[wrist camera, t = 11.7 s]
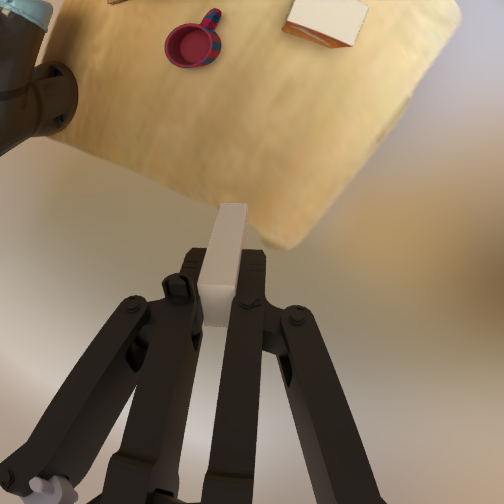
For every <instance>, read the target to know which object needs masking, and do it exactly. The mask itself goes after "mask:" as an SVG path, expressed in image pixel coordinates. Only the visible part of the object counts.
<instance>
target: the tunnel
mask: <svg viewBox="0 0 504 504" xmlns="http://www.w3.org/2000/svg"><path fill="white" fill-rule="evenodd" d="M124 1H127V0H107V4H112V5H113V4H117V3H120V2H124Z"/></svg>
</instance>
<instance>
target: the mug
mask: <svg viewBox="0 0 504 504" xmlns="http://www.w3.org/2000/svg"><path fill="white" fill-rule="evenodd" d="M220 17H221V11H220V10H219V9H216V8H214V9H211V10H210V11H209V12H208V13H207V14H206V16H205V17H204V19H203V20H202V22H201V24H199V25H198V24H190V23H189V24H184V25H181V26H179V27H177V28H175V29H174V30H173V31H172V32H171V33H170V34H169V35H168V37H167V39H166V42H165V53H166V56H167V58H168V59H169V61H170V62H171V63H173V64H174V65H176V66H178V67H182V68H192V67H198V66H204V65H207V64H209V63H211V62H213V61H214V60H215V59H216V58H217V56H218V55H219V53H220V50H221V41H220V38H219V36H218V35H217V34H216V33H215V32H214V31H213V30H214V28H215V27H216V25H217V23H218V21H219V19H220ZM210 21H211V22H210Z"/></svg>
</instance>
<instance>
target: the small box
mask: <svg viewBox="0 0 504 504" xmlns="http://www.w3.org/2000/svg"><path fill="white" fill-rule="evenodd" d="M369 8H370V7H369V6H368V5H367V4H365V3H363V2H361V1H359V0H293V2H292V4H291V7H290V9H289V12H288V14H287V17H286V20H285V22H284V25H283V28H282V31H284V32H288V33H291V34H295V35H298V36H300V37H303V38H306V39H309V40H312V41H314V42H317V43H319V44H322V45H324V46H327V47H329V48H339V47H353V45H354V43H355V41H356V38H357V36H358V34H359V31H360V29H361V27H362V24H363V22H364V20H365V17H366V15H367V13H368V10H369Z"/></svg>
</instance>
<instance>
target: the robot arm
mask: <svg viewBox="0 0 504 504" xmlns="http://www.w3.org/2000/svg"><path fill="white" fill-rule="evenodd" d="M52 13H53V7H52V5H51V4H50V3H49V2H46V1H42V0H0V156H2V155H3V154H5V153H6V152H8V151H9V150H11V149H12V148H14V147H15V146H17V145H18V144H20V143H22V142H24V141H25V140H26V139H28V138H30V137H40V136H49V135H52V134H55V133H56V132H58V131H60V130H62V129H63V128H65V127H66V126H67V125H68V123H69V122H70V121H71V119H72V117H73V115H74V113H75V110H76V107H77V101H78V89H77V83H76V80H75V77H74V75H73V73H72V72H71V71H70V69H69V68H68V67H67V66H65V65H64V64H62V63H60V62H47V63H43V64H40V65H38V66H36V67H34V66H35V62H36V59H37V56H38V53H39V50H40V46H41V44H42V41H43V38H44V35H45V33H47V31H48V28H47V27H48V24H49V21H50V19H51V16H52ZM247 236H248V233H247V203H221V205H220V208H219V211H218V215H217V218H216V221H215V224H214V228H213V231H212V234H211V237H210V241H209V244H208V247H207V248H192V249H191V250H190V251H189V252H188V253H187V254H186V256H185V259H184V262H183V264H182V268H181V270H180V272H179V273H174V274H172V275H169V276H167V277H166V278H165V279H164V280H163V282H162V286H163V290H164V293H165V298H163V299H160V300H156V301H150V302H147V301H146V299H145V298H143V297H141V296H137V295H135V296H130V297H128V298H126V299H124V300H123V301H122V302H121V303H120V305H119V306H118V307H117V309H116V310H115V311H114V312H113V314H112V315H111V316H110V318H109V319H108V320H107V322H106V323H105V324H104V326H103V327H102V329H101V330H100V331H99V333H98V334H97V335H96V337H95V338H94V339H93V341H92V342H91V344H90V345H89V346H88V348H87V349H86V351H85V352H84V354H83V355H82V356H81V358H80V359H79V361H78V362H77V363H76V365H75V366H74V368H73V370H72V371H71V372H70V374H69V375H68V377H67V378H66V380H65V381H64V383H63V384H62V386H61V387H60V389H59V390H58V392H57V393H56V395H55V396H54V398H53V400H52V401H51V403H50V404H49V406H48V407H47V409H46V411H45V412H44V414H43V416H42V417H41V419H40V420H39V422H38V424H37V425H36V427H35V429H34V431H33V432H32V434H31V436H30V437H29V439H28V441H27V442H26V443H25V444H23V445H22V446H21V447H20V448H19V449H17V450H16V451H15V452H14V453H13V454H11V455H10V456H9V457H7V458H6V459H5V460H4V461H2V462H1V463H0V485H1V487H2V488H3V489H4V490H5V491H7V492H9V493H12V494H15V495H18V496H20V497H21V499H22V500H23V502H24V504H74V502H76V501H77V500H78V494H77V492H76V491H75V490H74V488H75V487H76V486H77V485H78V484H79V483H80V482H81V481H82V479H83V478H84V477H85V476H86V474H87V472H88V471H89V469H90V468H91V466H92V463H93V462H94V460H95V458H96V456H97V455H98V453H99V451H100V449H101V447H102V445H103V444H104V442H105V440H106V438H107V436H108V435H109V433H110V431H111V429H112V427H113V426H114V424H115V422H116V420H117V419H118V417H119V415H120V413H121V411H122V410H123V408H124V406H125V404H126V403H127V401H128V399H129V397H130V396H131V394H132V392H133V390H134V389H135V387H136V390H135V393H134V397H133V400H132V404H131V408H130V412H129V415H128V419H127V423H126V426H125V430H124V434H123V438H122V442H121V446H120V449H119V450H118V451H117V452H116V453H114V454H113V455H112V457H111V458H110V461H109V464H108V468H107V472H106V477H105V482H104V487H103V492H102V493H101V494H100V495H98V496H97V497H95V498H94V499H93V500H91V501H90V502H88V503H87V504H252V498H253V485H254V468H255V455H256V441H257V426H258V410H259V393H260V377H261V358H262V350H263V351H266V352H269V353H272V354H275V355H276V357H277V360H278V364H279V368H280V371H281V375H282V379H283V382H284V386H285V389H286V393H287V397H288V400H289V404H290V408H291V411H292V415H293V419H294V422H295V426H296V429H297V433H298V436H299V440H300V444H301V448H302V451H303V455H304V458H305V462H306V466H307V469H308V473H309V476H310V480H311V483H312V487H313V491H314V494H315V498H316V502H317V504H387V503H386V502H385V501H384V500H383V499H382V498H381V497H380V493H379V491H378V487H377V484H376V481H375V478H374V475H373V472H372V470H371V467H370V464H369V461H368V458H367V455H366V452H365V449H364V447H363V444H362V441H361V438H360V435H359V433H358V430H357V427H356V424H355V422H354V419H353V416H352V413H351V411H350V408H349V405H348V403H347V400H346V397H345V395H344V392H343V390H342V387H341V384H340V382H339V379H338V377H337V374H336V371H335V369H334V366H333V363H332V361H331V358H330V356H329V353H328V351H327V348H326V346H325V343H324V341H323V338H322V336H321V333H320V331H319V328H318V326H317V323H316V321H315V318H314V316H313V314H312V313H311V311H310V310H308V309H307V308H306V307H303V306H299V305H292V306H290V307H287V308H286V309H280V308H277V307H275V306H273V305H271V304H270V303H269V302H268V301H267V299H266V297H265V275H266V256H265V254H264V252H263V250H251V249H247V242H248V238H247ZM203 320H204V325H205V326H213V327H226V328H228V331H227V338H226V344H225V351H224V358H223V366H222V372H221V379H220V386H219V393H218V400H217V407H216V415H215V422H214V429H213V436H212V444H211V451H210V459H209V466H208V470H207V472H206V474H205V478H204V483H203V489H202V498H201V502H200V503H186V502H183V501H181V500H179V499H177V496H178V490H179V475H178V468H179V462H180V456H181V450H182V444H183V438H184V432H185V426H186V421H187V415H188V409H189V404H190V399H191V393H192V387H193V383H194V377H195V372H196V367H197V362H198V357H199V352H200V347H201V342H202V337H203V332H202V324H203ZM136 385H137V386H136Z"/></svg>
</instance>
